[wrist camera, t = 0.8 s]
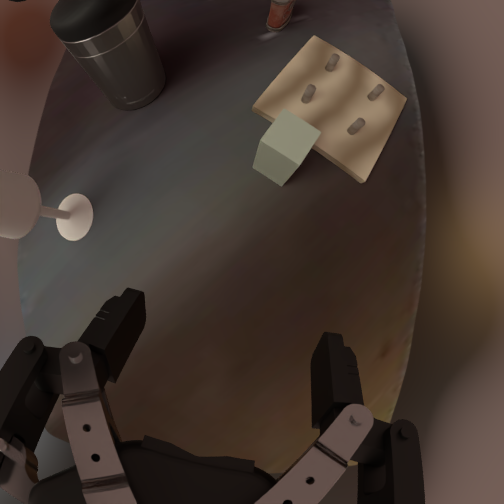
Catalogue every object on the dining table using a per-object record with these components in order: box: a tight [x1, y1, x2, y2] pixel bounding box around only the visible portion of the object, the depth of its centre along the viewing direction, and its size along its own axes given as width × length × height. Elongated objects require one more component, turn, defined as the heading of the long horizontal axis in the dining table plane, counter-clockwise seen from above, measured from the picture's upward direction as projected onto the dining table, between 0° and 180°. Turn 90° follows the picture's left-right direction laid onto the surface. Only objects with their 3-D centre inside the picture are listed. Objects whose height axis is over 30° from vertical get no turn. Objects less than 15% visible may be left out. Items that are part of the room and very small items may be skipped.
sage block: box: [252, 109, 321, 186], centre depth 31 cm, size 4×4×10 cm
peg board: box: [252, 36, 407, 183], centre depth 34 cm, size 18×18×5 cm
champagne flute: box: [0, 170, 93, 241], centre depth 22 cm, size 7×7×24 cm
